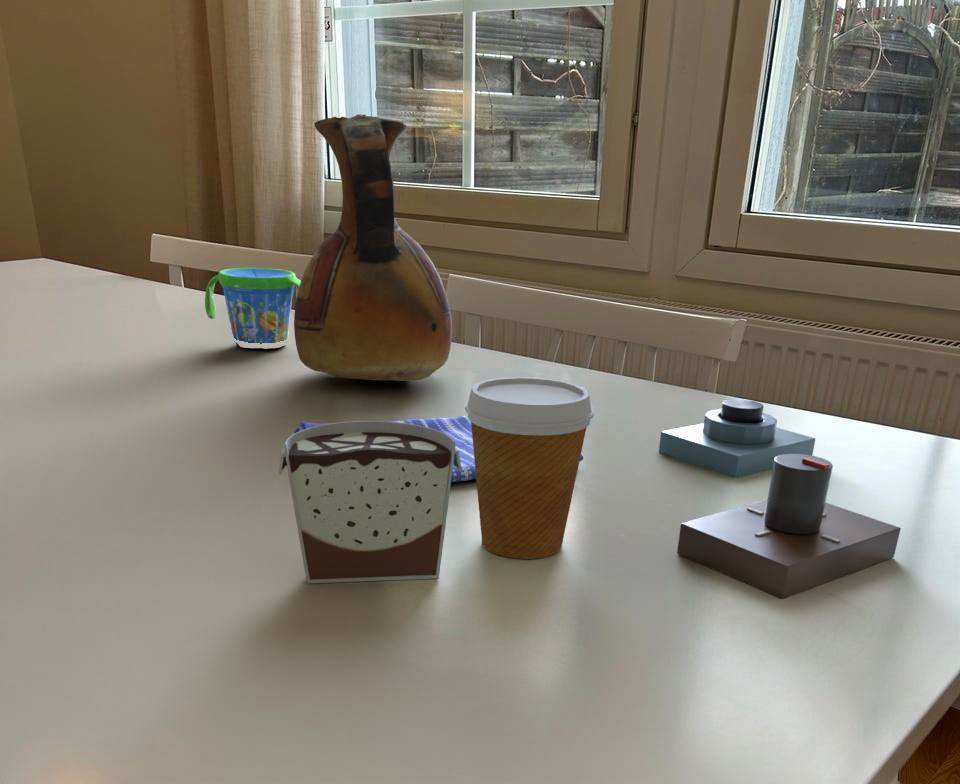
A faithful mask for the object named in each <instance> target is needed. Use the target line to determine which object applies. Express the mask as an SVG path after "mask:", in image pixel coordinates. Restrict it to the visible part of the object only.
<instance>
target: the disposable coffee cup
mask: <svg viewBox="0 0 960 784" xmlns="http://www.w3.org/2000/svg"><path fill="white" fill-rule="evenodd" d="M470 389H471V390H470V393H469V396H468V400H466V402H465V403H464V410H465V412H466V413H467V416H468V419H469V420H470V421H471V428H472V439H473V449H474V460H475V471H476V479H475V480H476V493H477V503H478V512H479V513H478V515H479V524H480V525H479V527H480V534H481V545H482V546H483V548H484V549H485V550H487V551H489V552H491V553H492V554H495V555H498V556H502V557H506V558H510V559H520V560H521V559H523V560H531V559H532V560H533V559H540V558H547V557H549V556H553V555H556V554H557V553H558V552H560V551H561V549H562V547H563V543H564V538H565V531H566V527H567V523H568V517H569V513H570V508H571V504H572V499H573V495H574V489H575V484H576V480H577V475H578V471H579V465H580V462H581V461H580V456H581V455H582V451H583V447H584V442H585V441H584V440H585V437H586V432H587V429H588V426H590V425H591V419H593V418H594V415H595V409H594V406H592V403H591V398H590V392H589V390H588V389H587V388H585V387H583V386H581V385H579V384H576V383H572V382H568V381H564V380H558V379H552V378H543V377H531V376H527V377H525V376H524V377H523V376H521V377H517V376H516V377H515V376H514V377H513V376H510V377H499V378H498V377H497V378H491V379H486V380H481V381H479V382H477V383H474V384H473V386H472V387H471V388H470ZM579 461H580V462H579Z"/></svg>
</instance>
